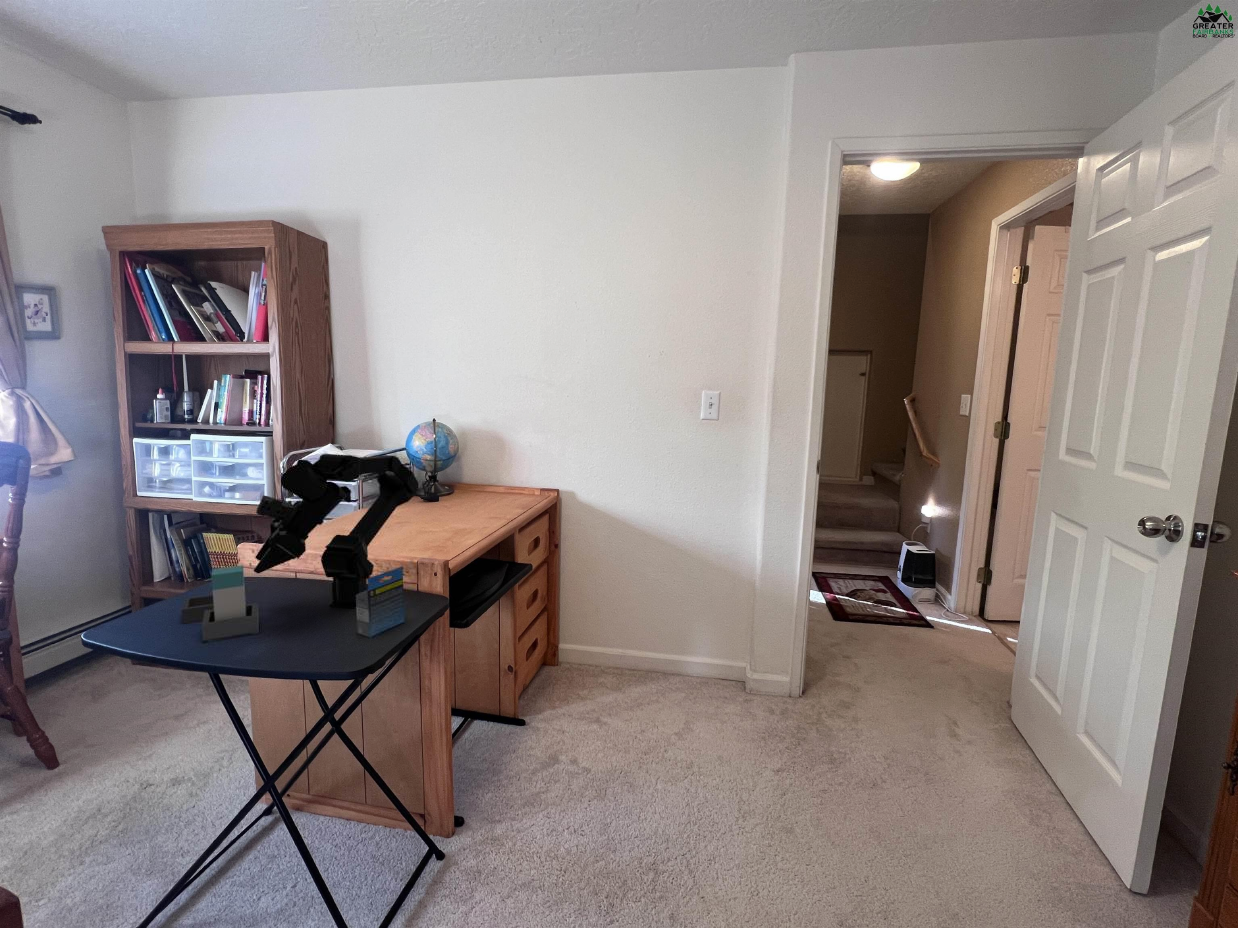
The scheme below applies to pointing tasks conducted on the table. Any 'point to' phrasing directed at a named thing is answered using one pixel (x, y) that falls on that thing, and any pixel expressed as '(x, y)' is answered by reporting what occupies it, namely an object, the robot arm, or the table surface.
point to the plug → (228, 593)
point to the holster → (196, 608)
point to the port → (230, 625)
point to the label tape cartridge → (381, 604)
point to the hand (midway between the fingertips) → (256, 565)
